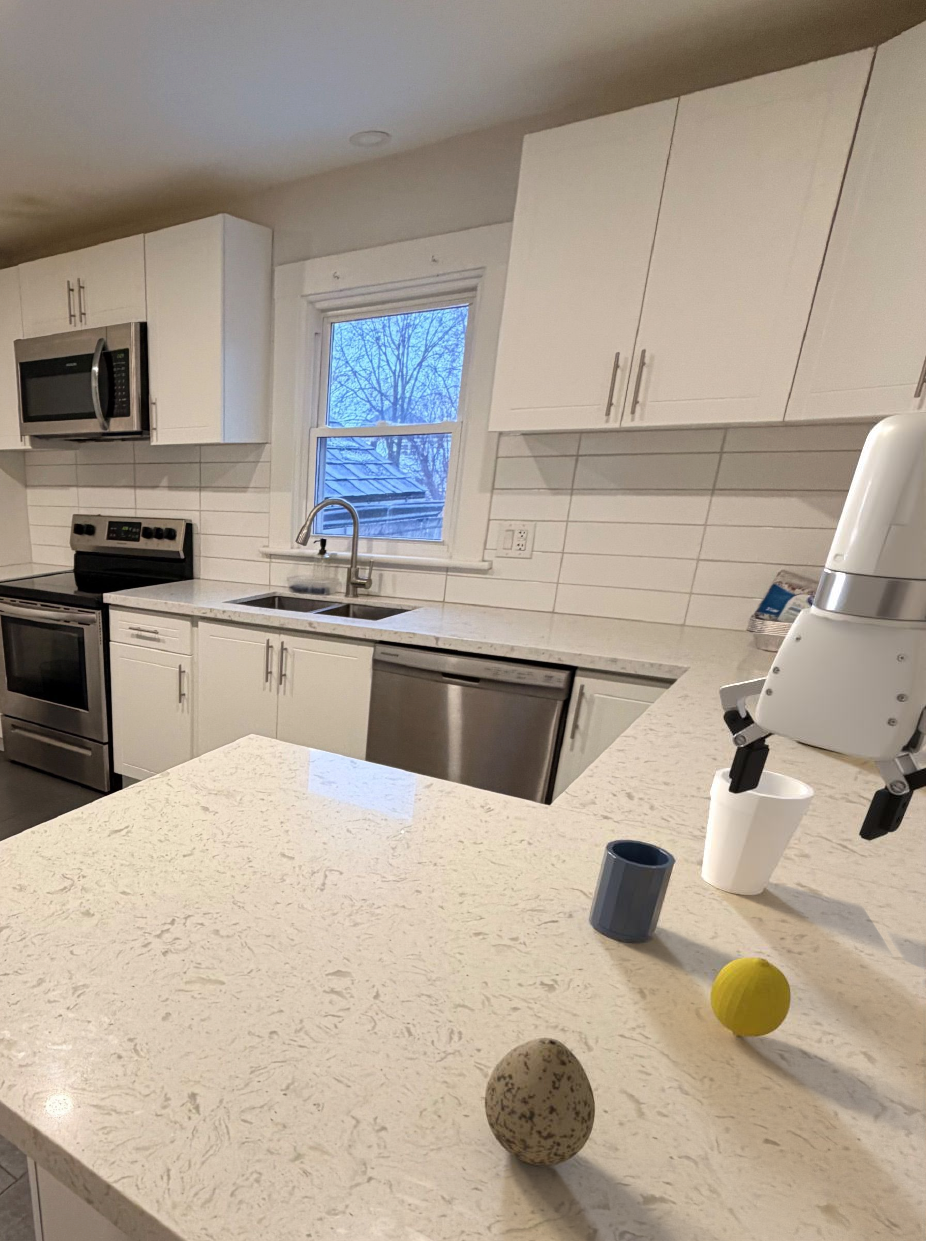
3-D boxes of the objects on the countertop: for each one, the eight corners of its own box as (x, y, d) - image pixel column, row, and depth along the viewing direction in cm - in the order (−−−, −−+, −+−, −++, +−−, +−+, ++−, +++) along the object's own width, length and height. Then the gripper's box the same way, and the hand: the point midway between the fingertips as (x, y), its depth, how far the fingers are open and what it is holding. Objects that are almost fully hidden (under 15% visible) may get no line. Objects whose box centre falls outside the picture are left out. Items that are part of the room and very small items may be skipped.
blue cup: (667, 933, 85) (688, 859, 82) (629, 949, 83) (650, 873, 79) (613, 905, 91) (631, 835, 87) (576, 919, 88) (593, 847, 84)
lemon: (686, 1015, 73) (709, 942, 70) (743, 1013, 73) (769, 940, 70) (729, 1057, 68) (756, 980, 65) (790, 1055, 68) (820, 978, 65)
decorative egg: (521, 1100, 63) (544, 998, 59) (602, 1166, 57) (634, 1058, 53) (456, 1134, 60) (475, 1028, 56) (534, 1207, 54) (563, 1095, 50)
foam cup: (770, 873, 98) (803, 775, 93) (787, 909, 90) (824, 804, 85) (682, 857, 101) (709, 762, 96) (691, 890, 94) (720, 789, 89)
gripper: (1062, 616, 52) (958, 847, 59) (780, 579, 66) (722, 769, 73) (1013, 625, 49) (909, 868, 56) (728, 584, 63) (672, 782, 70)
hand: (803, 811), depth 64 cm, fingers open, 9 cm apart
